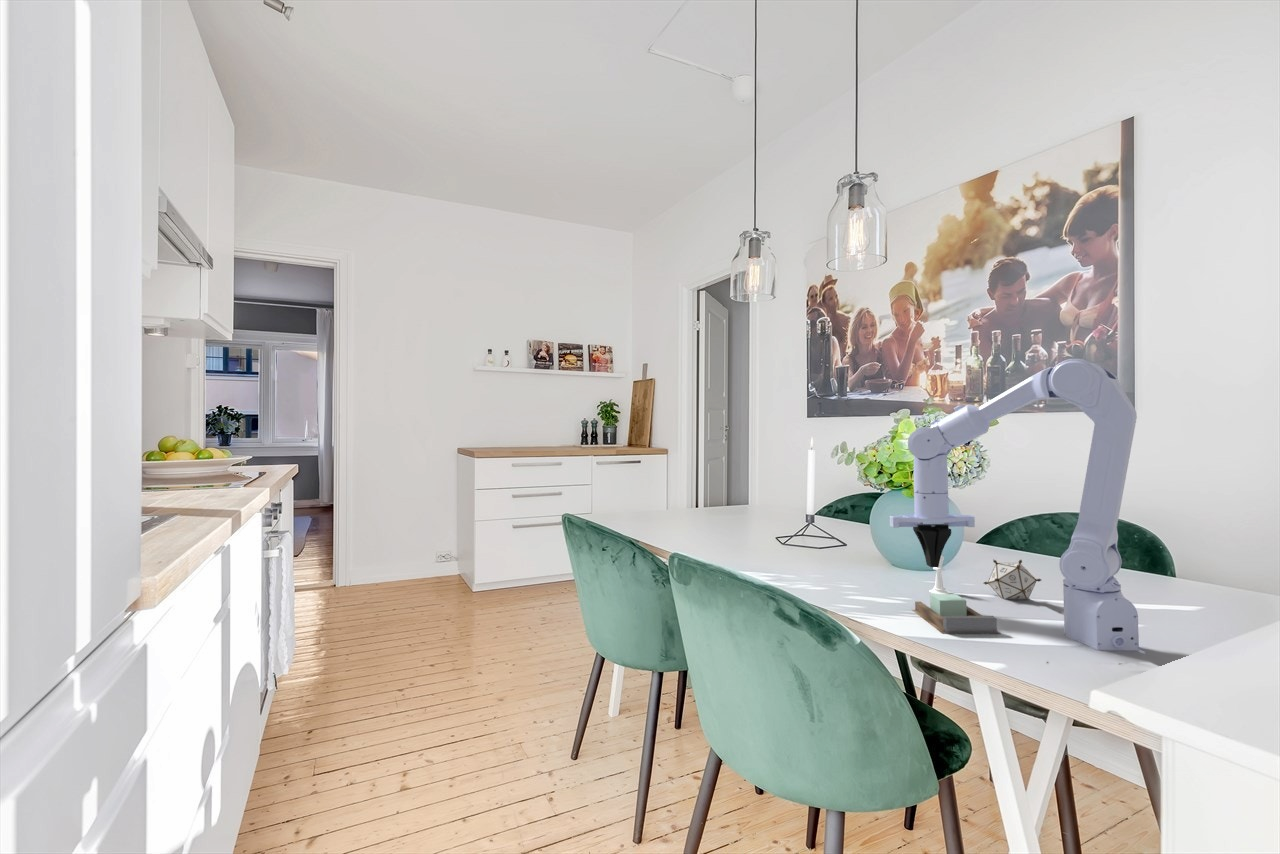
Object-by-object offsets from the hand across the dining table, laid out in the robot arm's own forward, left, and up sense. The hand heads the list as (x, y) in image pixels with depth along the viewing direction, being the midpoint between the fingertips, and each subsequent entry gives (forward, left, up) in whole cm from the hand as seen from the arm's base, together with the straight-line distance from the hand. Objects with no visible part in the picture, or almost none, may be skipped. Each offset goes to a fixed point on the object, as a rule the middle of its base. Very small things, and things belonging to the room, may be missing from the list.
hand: (932, 566), depth 112 cm
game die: (+6, -17, -9) cm, 21 cm away
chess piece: (+10, -5, -9) cm, 15 cm away
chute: (-9, 0, -8) cm, 12 cm away
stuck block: (-7, 0, -8) cm, 10 cm away
